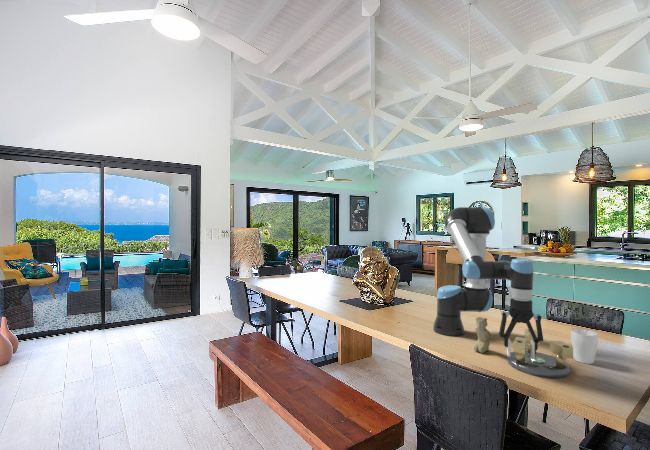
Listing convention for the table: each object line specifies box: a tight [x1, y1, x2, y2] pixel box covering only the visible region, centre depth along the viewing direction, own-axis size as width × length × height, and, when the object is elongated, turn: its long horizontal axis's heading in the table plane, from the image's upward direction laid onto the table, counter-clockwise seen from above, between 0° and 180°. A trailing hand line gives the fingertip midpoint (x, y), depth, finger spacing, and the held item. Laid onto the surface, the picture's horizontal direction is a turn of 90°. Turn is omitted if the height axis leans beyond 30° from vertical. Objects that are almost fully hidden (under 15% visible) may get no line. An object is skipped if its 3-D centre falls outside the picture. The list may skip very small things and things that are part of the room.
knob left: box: [512, 336, 528, 364], centre depth 135 cm, size 7×4×9 cm, turn 142°
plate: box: [507, 351, 570, 379], centre depth 137 cm, size 21×21×3 cm
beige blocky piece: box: [524, 328, 541, 354], centre depth 144 cm, size 7×4×9 cm, turn 163°
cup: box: [570, 328, 599, 365], centre depth 142 cm, size 9×9×12 cm
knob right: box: [549, 340, 574, 369], centre depth 131 cm, size 7×4×9 cm, turn 0°
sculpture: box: [473, 316, 491, 354], centre depth 152 cm, size 6×7×15 cm
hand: (520, 356), depth 135 cm, fingers open, 8 cm apart
